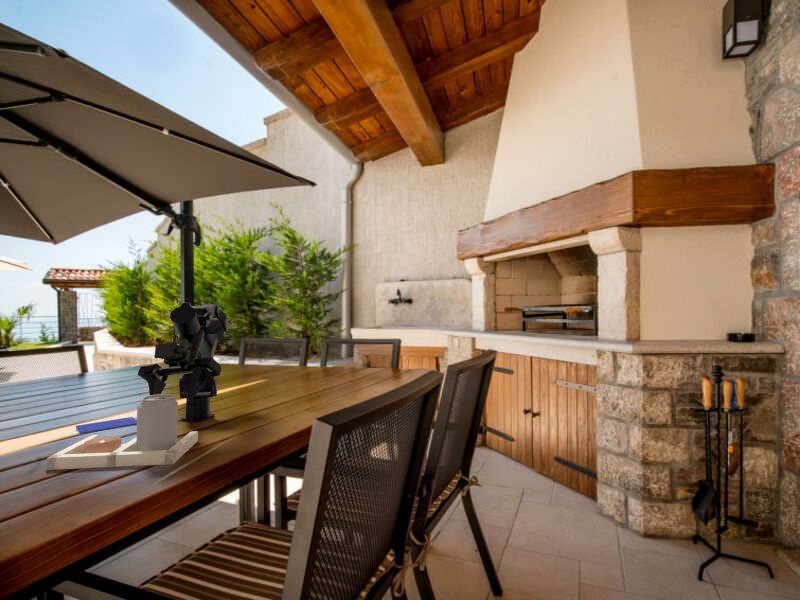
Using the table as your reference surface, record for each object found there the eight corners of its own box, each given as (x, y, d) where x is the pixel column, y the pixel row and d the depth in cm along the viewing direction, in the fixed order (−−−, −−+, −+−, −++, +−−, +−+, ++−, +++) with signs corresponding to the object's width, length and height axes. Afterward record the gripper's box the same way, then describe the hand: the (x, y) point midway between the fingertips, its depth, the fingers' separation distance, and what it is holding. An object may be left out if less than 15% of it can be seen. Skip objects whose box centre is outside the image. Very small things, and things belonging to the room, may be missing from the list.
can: (184, 449, 88) (185, 394, 88) (149, 461, 81) (151, 401, 82) (163, 444, 91) (164, 391, 92) (128, 454, 85) (129, 397, 85)
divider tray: (91, 447, 91) (91, 435, 91) (197, 442, 94) (197, 431, 94) (46, 472, 77) (47, 457, 77) (173, 466, 80) (173, 452, 80)
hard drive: (132, 416, 113) (75, 424, 104) (138, 422, 107) (79, 432, 98) (132, 421, 113) (75, 431, 104) (138, 428, 107) (79, 438, 98)
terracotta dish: (102, 448, 88) (102, 435, 88) (128, 450, 87) (128, 436, 87) (75, 459, 82) (75, 444, 82) (103, 461, 81) (103, 446, 81)
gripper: (134, 334, 99) (109, 392, 89) (205, 323, 98) (188, 381, 88) (161, 356, 108) (141, 412, 98) (227, 347, 106) (214, 403, 96)
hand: (170, 402), depth 95 cm, fingers open, 9 cm apart
